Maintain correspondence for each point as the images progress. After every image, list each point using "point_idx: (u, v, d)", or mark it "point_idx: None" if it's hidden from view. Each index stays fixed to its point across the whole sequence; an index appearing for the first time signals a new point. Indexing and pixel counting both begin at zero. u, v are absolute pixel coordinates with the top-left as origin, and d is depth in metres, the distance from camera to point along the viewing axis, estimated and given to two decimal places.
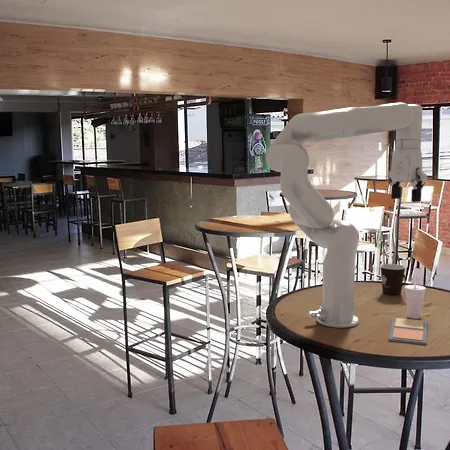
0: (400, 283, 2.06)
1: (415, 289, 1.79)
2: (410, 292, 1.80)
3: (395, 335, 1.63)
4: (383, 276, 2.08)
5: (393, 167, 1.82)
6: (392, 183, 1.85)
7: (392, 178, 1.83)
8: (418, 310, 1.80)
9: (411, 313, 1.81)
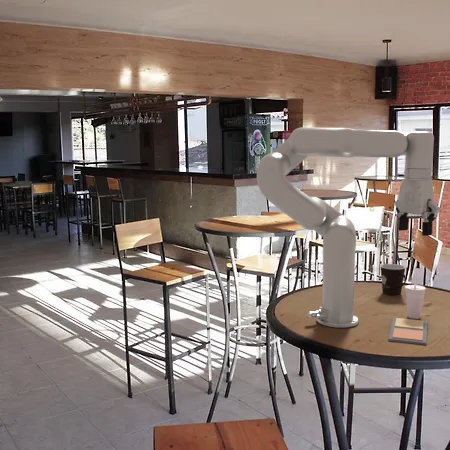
0: (400, 283, 2.06)
1: (415, 289, 1.79)
2: (410, 292, 1.80)
3: (395, 335, 1.63)
4: (383, 276, 2.08)
5: (401, 197, 1.70)
6: (399, 214, 1.73)
7: (400, 209, 1.71)
8: (418, 310, 1.80)
9: (411, 313, 1.81)
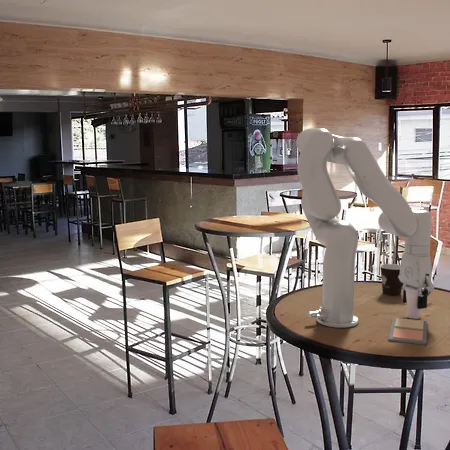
0: (400, 283, 2.06)
1: (415, 289, 1.79)
2: (410, 292, 1.80)
3: (395, 335, 1.63)
4: (383, 276, 2.08)
5: (402, 269, 1.83)
6: (403, 287, 1.85)
7: (401, 280, 1.83)
8: (418, 310, 1.80)
9: (411, 313, 1.81)
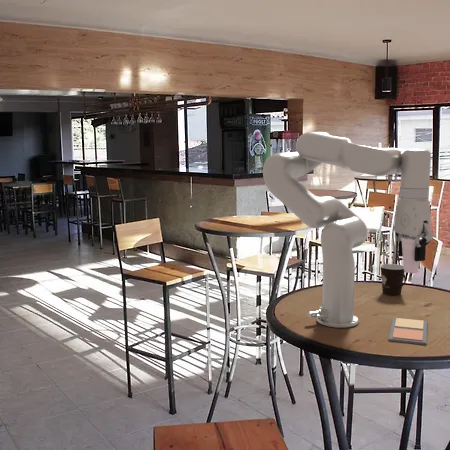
0: (400, 283, 2.06)
1: (412, 239, 1.58)
2: (407, 242, 1.59)
3: (395, 335, 1.63)
4: (383, 276, 2.08)
5: (397, 217, 1.62)
6: (399, 238, 1.64)
7: (396, 230, 1.62)
8: (415, 263, 1.59)
9: (407, 267, 1.60)
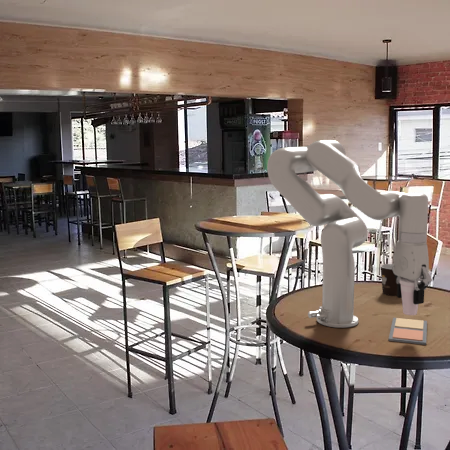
0: None
1: (411, 282, 1.60)
2: (405, 285, 1.60)
3: (395, 335, 1.63)
4: (383, 276, 2.08)
5: (395, 260, 1.64)
6: (398, 280, 1.66)
7: (395, 272, 1.64)
8: (414, 305, 1.61)
9: (407, 309, 1.62)
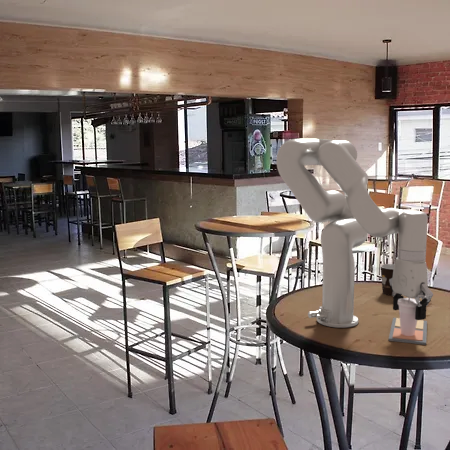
0: None
1: (409, 303, 1.61)
2: (403, 307, 1.61)
3: (395, 335, 1.63)
4: (383, 276, 2.08)
5: (394, 277, 1.64)
6: (394, 293, 1.67)
7: (394, 289, 1.65)
8: (412, 326, 1.62)
9: (404, 330, 1.63)
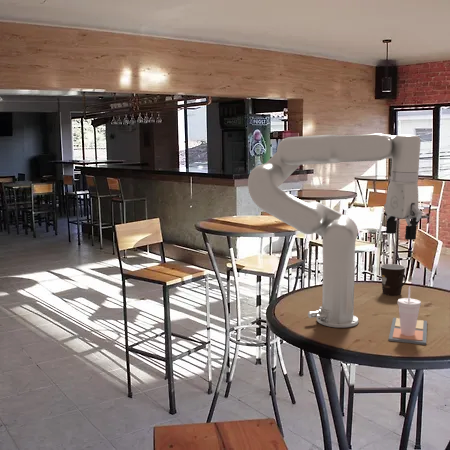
0: (400, 283, 2.06)
1: (409, 303, 1.61)
2: (403, 306, 1.62)
3: (395, 335, 1.63)
4: (383, 276, 2.08)
5: (388, 200, 1.70)
6: (387, 217, 1.73)
7: (387, 212, 1.71)
8: (412, 326, 1.62)
9: (404, 330, 1.63)
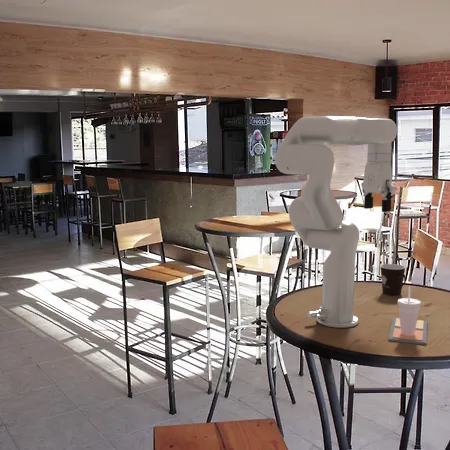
0: (400, 283, 2.06)
1: (409, 303, 1.61)
2: (403, 306, 1.62)
3: (395, 335, 1.63)
4: (383, 276, 2.08)
5: (365, 178, 1.93)
6: (365, 194, 1.96)
7: (364, 189, 1.94)
8: (412, 326, 1.62)
9: (404, 330, 1.63)
